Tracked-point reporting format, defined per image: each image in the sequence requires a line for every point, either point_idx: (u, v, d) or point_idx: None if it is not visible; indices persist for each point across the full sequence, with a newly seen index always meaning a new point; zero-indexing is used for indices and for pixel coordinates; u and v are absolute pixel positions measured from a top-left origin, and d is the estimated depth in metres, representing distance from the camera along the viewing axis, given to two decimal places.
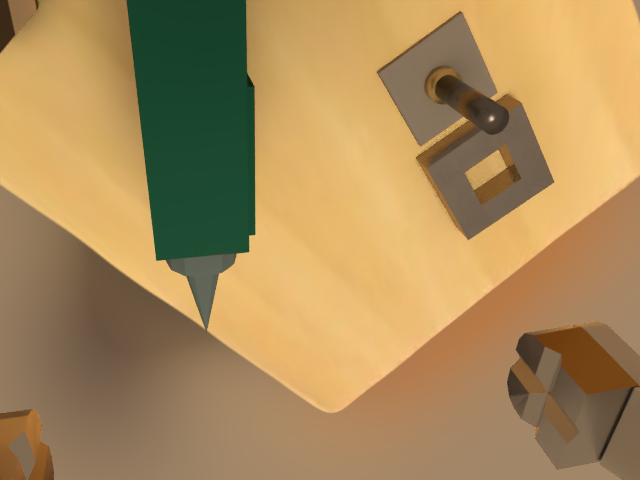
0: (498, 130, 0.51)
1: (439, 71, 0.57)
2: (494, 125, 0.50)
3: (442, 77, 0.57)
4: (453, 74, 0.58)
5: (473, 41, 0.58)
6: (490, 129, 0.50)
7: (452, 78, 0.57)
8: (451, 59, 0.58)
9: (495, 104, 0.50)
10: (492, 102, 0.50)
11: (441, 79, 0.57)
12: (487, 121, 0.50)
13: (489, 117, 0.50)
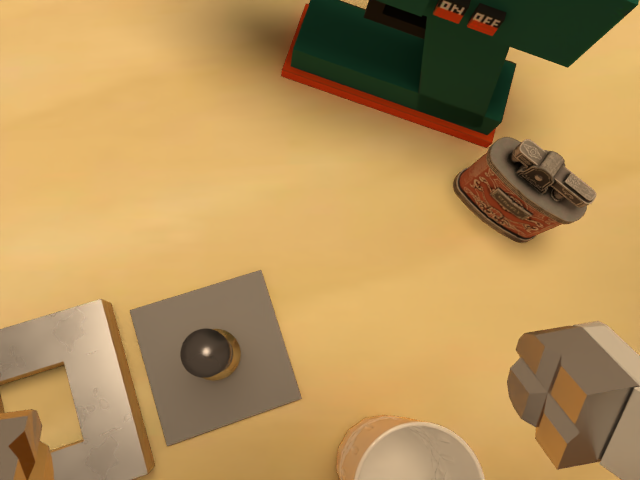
0: (185, 356, 0.30)
1: (239, 347, 0.41)
2: (197, 349, 0.31)
3: (232, 348, 0.40)
4: (230, 367, 0.40)
5: (258, 411, 0.41)
6: (193, 342, 0.31)
7: (232, 357, 0.39)
8: (244, 375, 0.42)
9: (228, 359, 0.31)
10: (228, 359, 0.32)
11: (231, 345, 0.40)
12: (209, 338, 0.31)
13: (215, 342, 0.31)
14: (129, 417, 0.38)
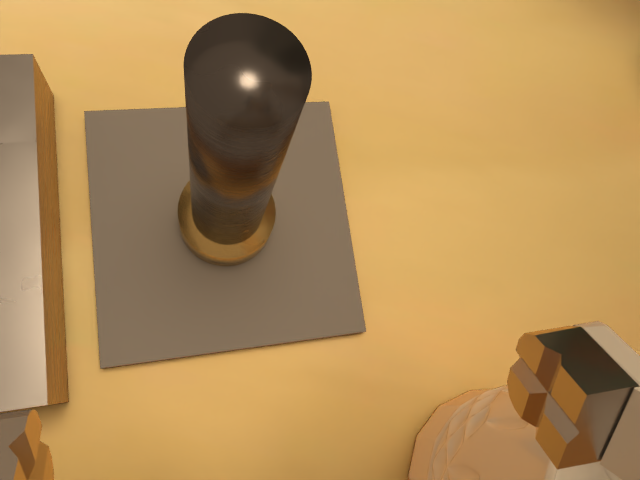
0: (197, 63, 0.11)
1: (274, 211, 0.22)
2: (231, 57, 0.12)
3: None
4: (251, 239, 0.21)
5: (284, 338, 0.22)
6: (224, 36, 0.12)
7: (263, 213, 0.20)
8: (269, 268, 0.22)
9: (300, 111, 0.12)
10: (296, 123, 0.13)
11: None
12: (266, 39, 0.12)
13: (279, 52, 0.12)
14: (35, 282, 0.18)
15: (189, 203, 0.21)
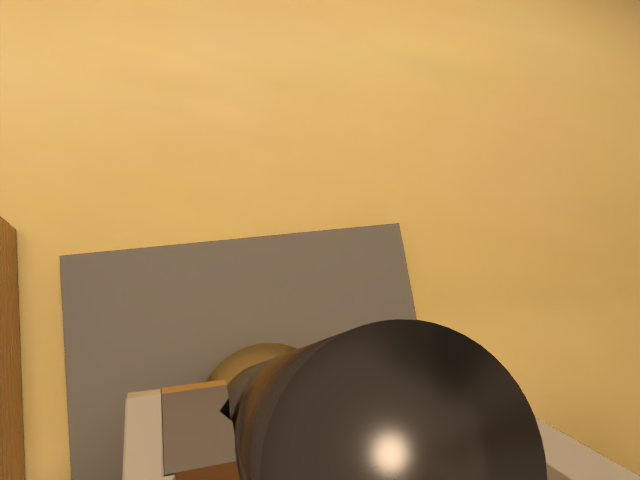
0: (292, 475, 0.05)
1: None
2: (368, 444, 0.05)
3: None
4: None
5: None
6: (349, 390, 0.05)
7: None
8: None
9: None
10: None
11: None
12: (443, 382, 0.05)
13: (472, 413, 0.05)
14: None
15: None
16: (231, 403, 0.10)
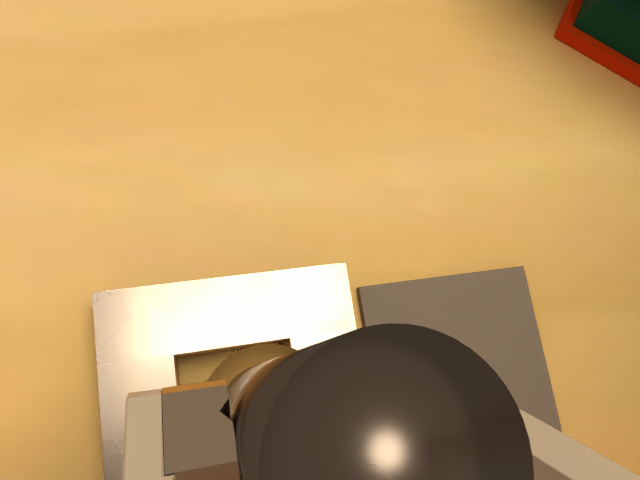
0: (289, 473, 0.05)
1: None
2: (363, 443, 0.05)
3: None
4: None
5: None
6: (344, 391, 0.05)
7: None
8: None
9: None
10: None
11: None
12: (435, 383, 0.05)
13: (462, 413, 0.05)
14: None
15: None
16: (231, 403, 0.10)
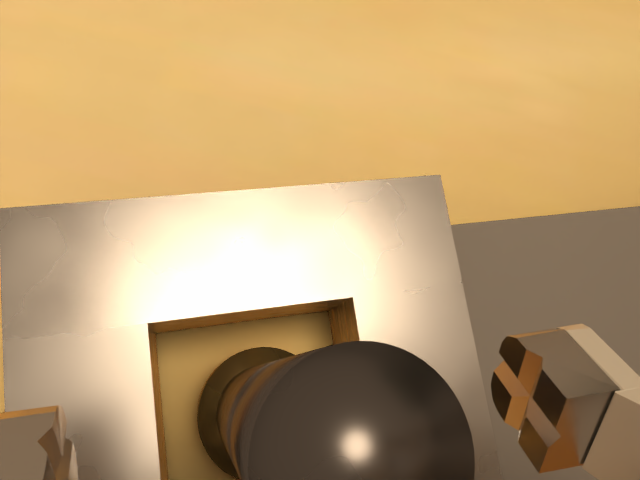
0: (272, 463, 0.06)
1: None
2: (333, 439, 0.06)
3: None
4: None
5: None
6: (319, 397, 0.06)
7: None
8: None
9: None
10: None
11: None
12: (393, 391, 0.07)
13: (416, 415, 0.07)
14: (491, 462, 0.15)
15: (213, 406, 0.16)
16: (228, 403, 0.11)
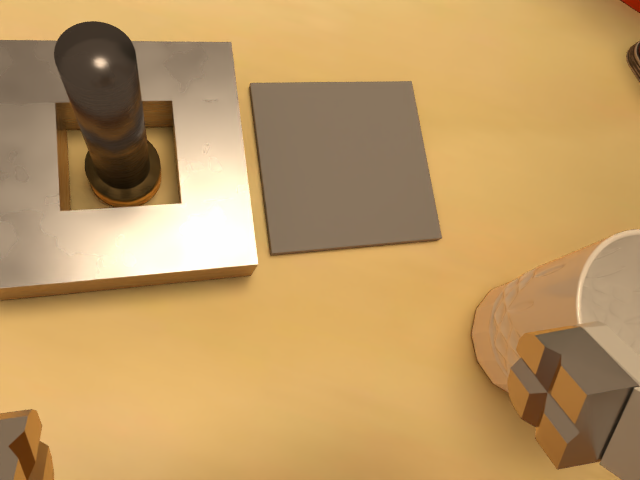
0: (62, 51, 0.19)
1: (160, 167, 0.29)
2: (84, 48, 0.19)
3: (150, 163, 0.29)
4: (140, 186, 0.29)
5: (388, 240, 0.32)
6: (81, 35, 0.19)
7: (146, 165, 0.28)
8: (377, 193, 0.33)
9: (131, 82, 0.20)
10: (132, 90, 0.20)
11: None
12: (108, 37, 0.19)
13: (116, 45, 0.19)
14: (244, 188, 0.28)
15: None
16: None
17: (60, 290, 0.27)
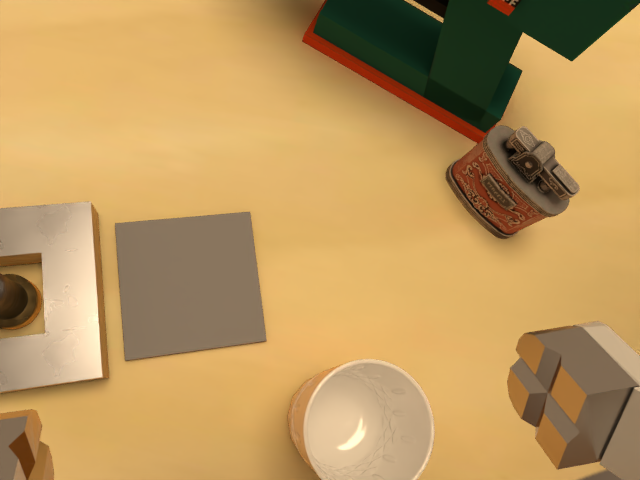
0: None
1: (37, 299, 0.39)
2: None
3: (27, 298, 0.38)
4: (19, 316, 0.38)
5: (221, 344, 0.41)
6: None
7: (20, 304, 0.37)
8: (214, 307, 0.42)
9: None
10: None
11: (26, 294, 0.38)
12: None
13: None
14: (95, 318, 0.38)
15: None
16: None
17: None
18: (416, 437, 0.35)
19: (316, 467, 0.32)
